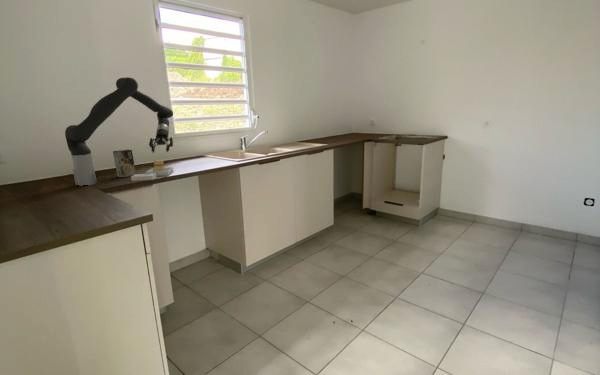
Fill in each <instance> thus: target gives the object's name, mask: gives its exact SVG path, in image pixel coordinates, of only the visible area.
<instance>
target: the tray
mask: <svg viewBox="0 0 600 375" xmlns="http://www.w3.org/2000/svg"><path fill="white" fill-rule="evenodd" d="M151 173H156V178H159V177H169V176H170V175H172V174H173V173H174V167H173V166H172V167H171V166H170V167H169V166H168V167H164V171H160V172H155V167H153V168H150V169H149V170H147V171H145V173H144V174H151Z"/></svg>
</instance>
